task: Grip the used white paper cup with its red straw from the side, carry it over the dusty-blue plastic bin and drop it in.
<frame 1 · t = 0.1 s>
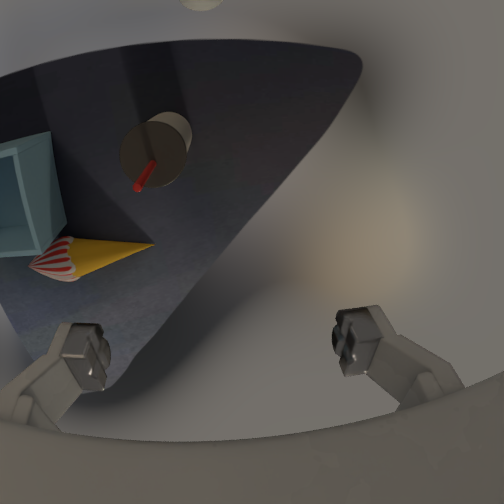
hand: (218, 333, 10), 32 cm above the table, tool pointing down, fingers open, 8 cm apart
paper cup: (167, 135, 36), on the table
ice cream cone: (93, 248, 43), on the table
bin: (16, 185, 36), on the table
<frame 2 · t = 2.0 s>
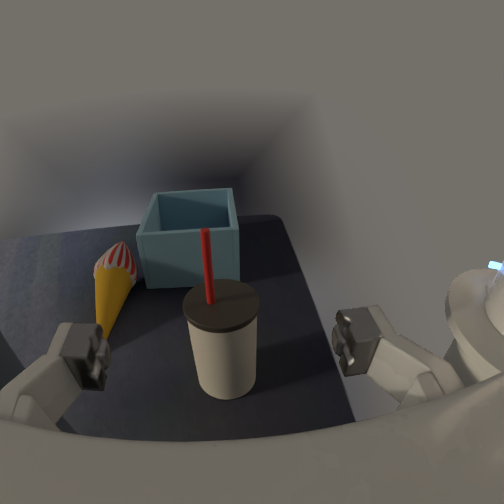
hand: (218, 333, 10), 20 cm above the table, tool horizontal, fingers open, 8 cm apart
paper cup: (227, 376, 32), on the table
ice cream cone: (113, 305, 42), on the table
bin: (194, 257, 52), on the table
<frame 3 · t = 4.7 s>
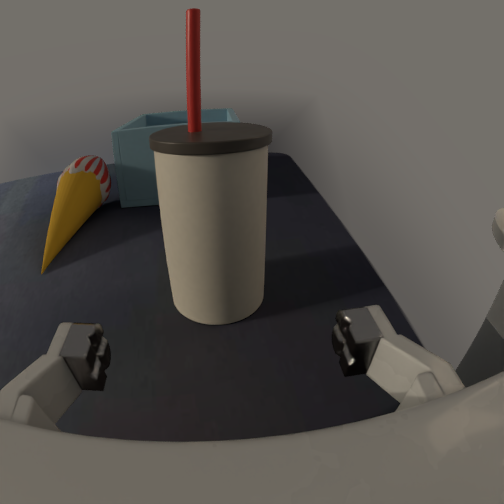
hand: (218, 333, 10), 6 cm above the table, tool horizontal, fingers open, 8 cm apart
paper cup: (218, 294, 21), on the table
ice cream cone: (76, 225, 31), on the table
bin: (184, 181, 41), on the table
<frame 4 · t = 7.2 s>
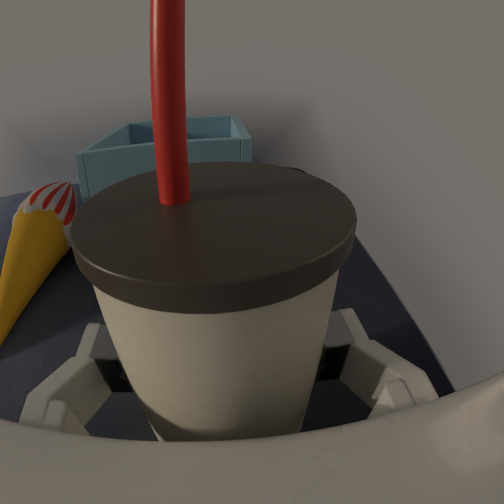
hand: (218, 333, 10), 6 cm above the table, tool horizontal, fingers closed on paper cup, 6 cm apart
paper cup: (229, 430, 13), on the table, touching gripper
ice cream cone: (38, 278, 22), on the table
bin: (177, 211, 33), on the table
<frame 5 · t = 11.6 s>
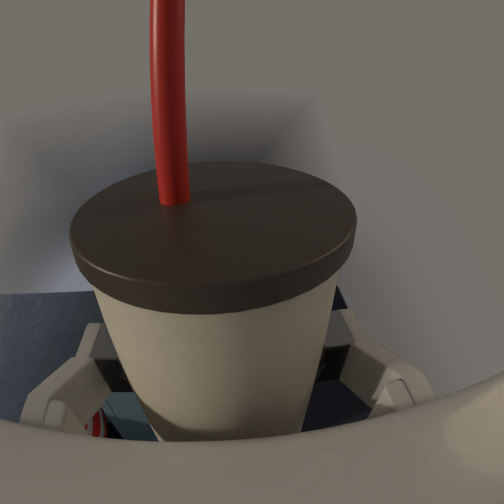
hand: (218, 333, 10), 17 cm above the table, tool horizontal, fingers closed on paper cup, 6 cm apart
paper cup: (229, 431, 12), point 11 cm above the table, touching gripper
ice cream cone: (75, 471, 18), on the table
bin: (205, 374, 29), on the table
when the fingers open (11 cm above the table, at t = 16.0 s): paper cup drops 5 cm, resting on bin.
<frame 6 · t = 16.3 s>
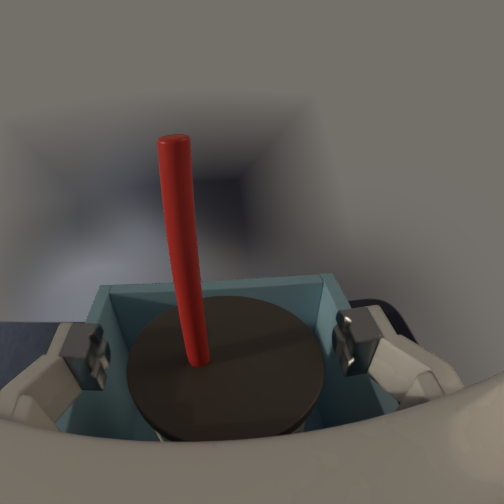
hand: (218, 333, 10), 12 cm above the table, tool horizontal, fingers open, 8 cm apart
paper cup: (235, 468, 15), point 1 cm above the table, touching bin
bin: (231, 472, 16), on the table
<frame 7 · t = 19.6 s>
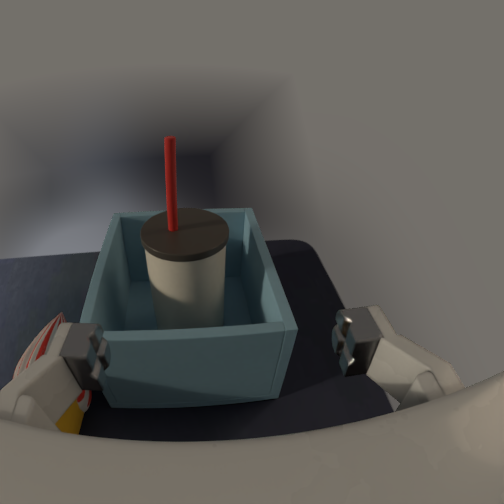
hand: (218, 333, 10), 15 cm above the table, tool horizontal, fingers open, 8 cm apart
paper cup: (190, 328, 29), point 1 cm above the table, touching bin
ice cream cone: (58, 439, 18), on the table
bin: (188, 333, 29), on the table
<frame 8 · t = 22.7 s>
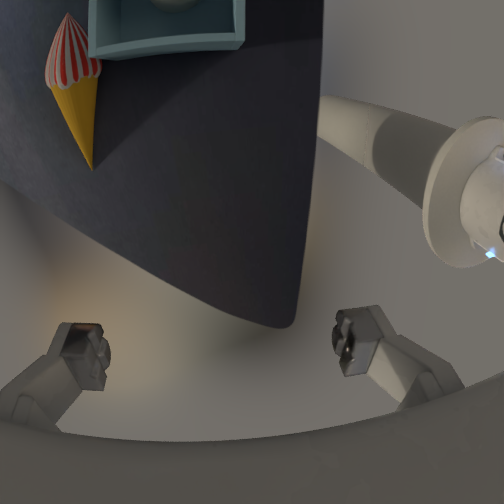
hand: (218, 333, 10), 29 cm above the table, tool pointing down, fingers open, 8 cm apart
ice cream cone: (82, 93, 30), on the table
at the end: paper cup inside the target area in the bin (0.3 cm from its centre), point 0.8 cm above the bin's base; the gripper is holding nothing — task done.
